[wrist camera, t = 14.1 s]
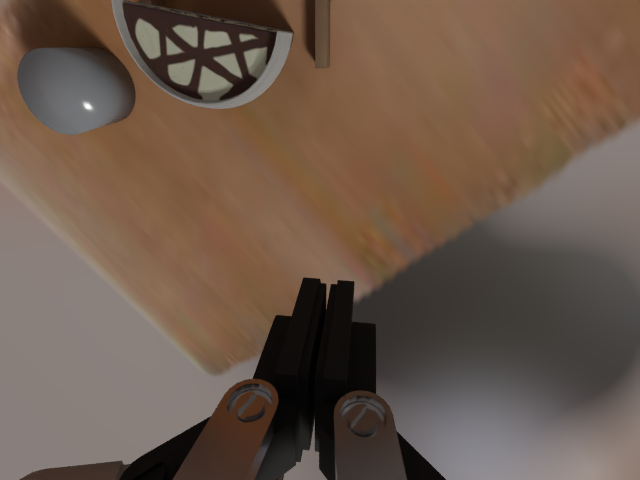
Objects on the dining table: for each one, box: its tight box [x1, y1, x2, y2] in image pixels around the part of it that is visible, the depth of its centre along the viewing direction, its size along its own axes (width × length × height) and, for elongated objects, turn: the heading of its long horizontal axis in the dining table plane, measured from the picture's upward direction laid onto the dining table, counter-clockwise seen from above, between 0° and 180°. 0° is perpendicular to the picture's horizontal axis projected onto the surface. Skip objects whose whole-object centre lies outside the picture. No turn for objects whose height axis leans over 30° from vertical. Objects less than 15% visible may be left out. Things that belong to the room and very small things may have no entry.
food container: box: [112, 0, 294, 109], centre depth 30 cm, size 12×6×10 cm, turn 80°
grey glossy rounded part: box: [18, 47, 135, 135], centre depth 34 cm, size 7×7×6 cm
